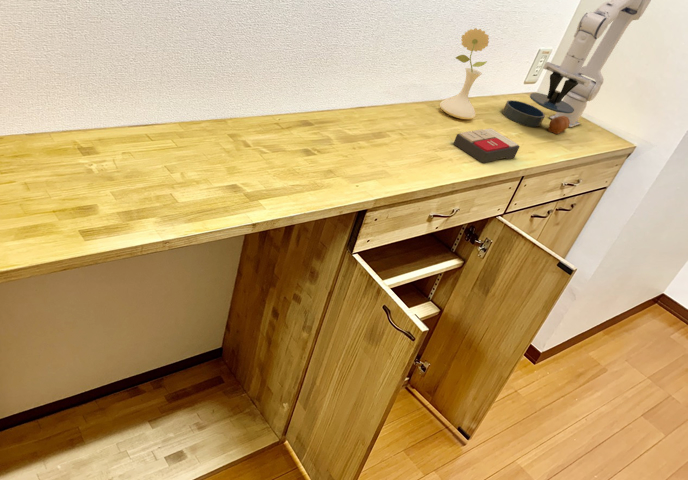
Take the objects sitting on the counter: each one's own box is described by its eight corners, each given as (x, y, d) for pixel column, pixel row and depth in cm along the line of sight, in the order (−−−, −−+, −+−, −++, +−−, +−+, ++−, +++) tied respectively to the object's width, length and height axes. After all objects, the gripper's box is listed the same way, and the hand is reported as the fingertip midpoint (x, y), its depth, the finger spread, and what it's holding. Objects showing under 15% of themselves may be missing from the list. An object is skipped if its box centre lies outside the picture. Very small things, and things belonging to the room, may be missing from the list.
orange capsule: (554, 125, 193) (561, 112, 190) (567, 132, 190) (574, 118, 188) (543, 129, 187) (551, 115, 184) (557, 135, 185) (564, 122, 182)
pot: (512, 108, 198) (517, 98, 196) (545, 124, 192) (551, 114, 190) (495, 112, 190) (500, 102, 188) (529, 129, 184) (535, 119, 182)
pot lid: (539, 94, 186) (546, 80, 184) (579, 112, 180) (586, 98, 177) (521, 98, 177) (528, 84, 174) (562, 117, 171) (569, 103, 168)
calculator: (457, 131, 155) (491, 125, 163) (451, 145, 158) (485, 139, 166) (487, 150, 149) (521, 143, 157) (481, 165, 151) (515, 157, 159)
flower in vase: (477, 118, 180) (513, 37, 165) (466, 125, 172) (503, 41, 157) (440, 102, 184) (472, 22, 169) (427, 109, 176) (460, 25, 161)
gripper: (548, 48, 170) (527, 91, 178) (594, 66, 163) (569, 111, 171) (558, 47, 175) (536, 90, 183) (602, 65, 168) (578, 109, 176)
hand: (553, 100), depth 177 cm, fingers closed on pot lid, 2 cm apart
